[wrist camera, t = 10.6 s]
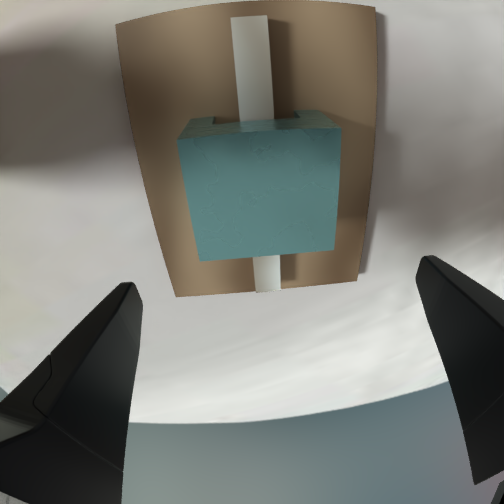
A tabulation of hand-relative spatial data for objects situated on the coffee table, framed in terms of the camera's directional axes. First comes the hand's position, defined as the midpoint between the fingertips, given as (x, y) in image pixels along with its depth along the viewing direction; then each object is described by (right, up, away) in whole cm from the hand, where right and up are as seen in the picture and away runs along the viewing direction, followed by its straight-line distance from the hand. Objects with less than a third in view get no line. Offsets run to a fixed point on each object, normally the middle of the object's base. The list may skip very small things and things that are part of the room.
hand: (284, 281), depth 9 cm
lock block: (-1, +5, +7) cm, 9 cm away
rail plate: (-1, +6, +8) cm, 10 cm away
